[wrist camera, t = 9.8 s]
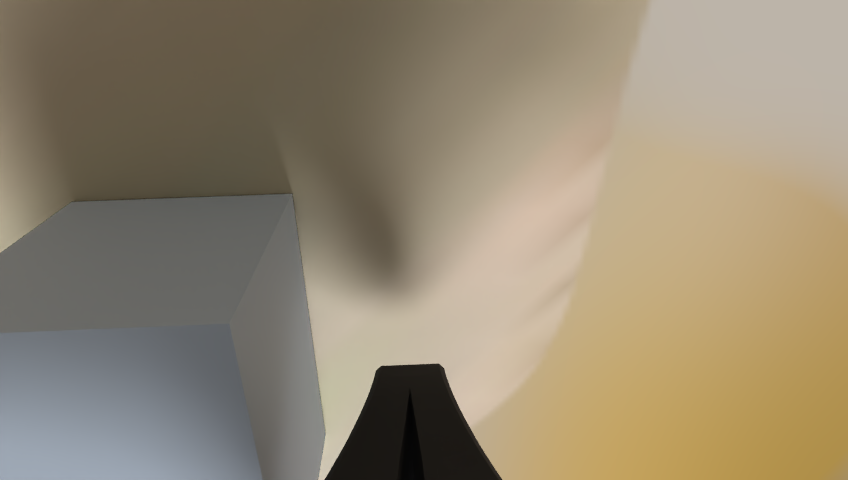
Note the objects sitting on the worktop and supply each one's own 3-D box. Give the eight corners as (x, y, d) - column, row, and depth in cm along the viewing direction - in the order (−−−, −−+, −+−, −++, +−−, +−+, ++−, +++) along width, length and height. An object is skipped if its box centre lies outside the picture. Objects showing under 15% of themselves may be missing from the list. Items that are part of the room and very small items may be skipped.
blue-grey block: (325, 434, 16) (293, 625, 12) (149, 442, 16) (46, 638, 11) (292, 193, 13) (229, 323, 8) (71, 202, 13) (-118, 338, 8)
